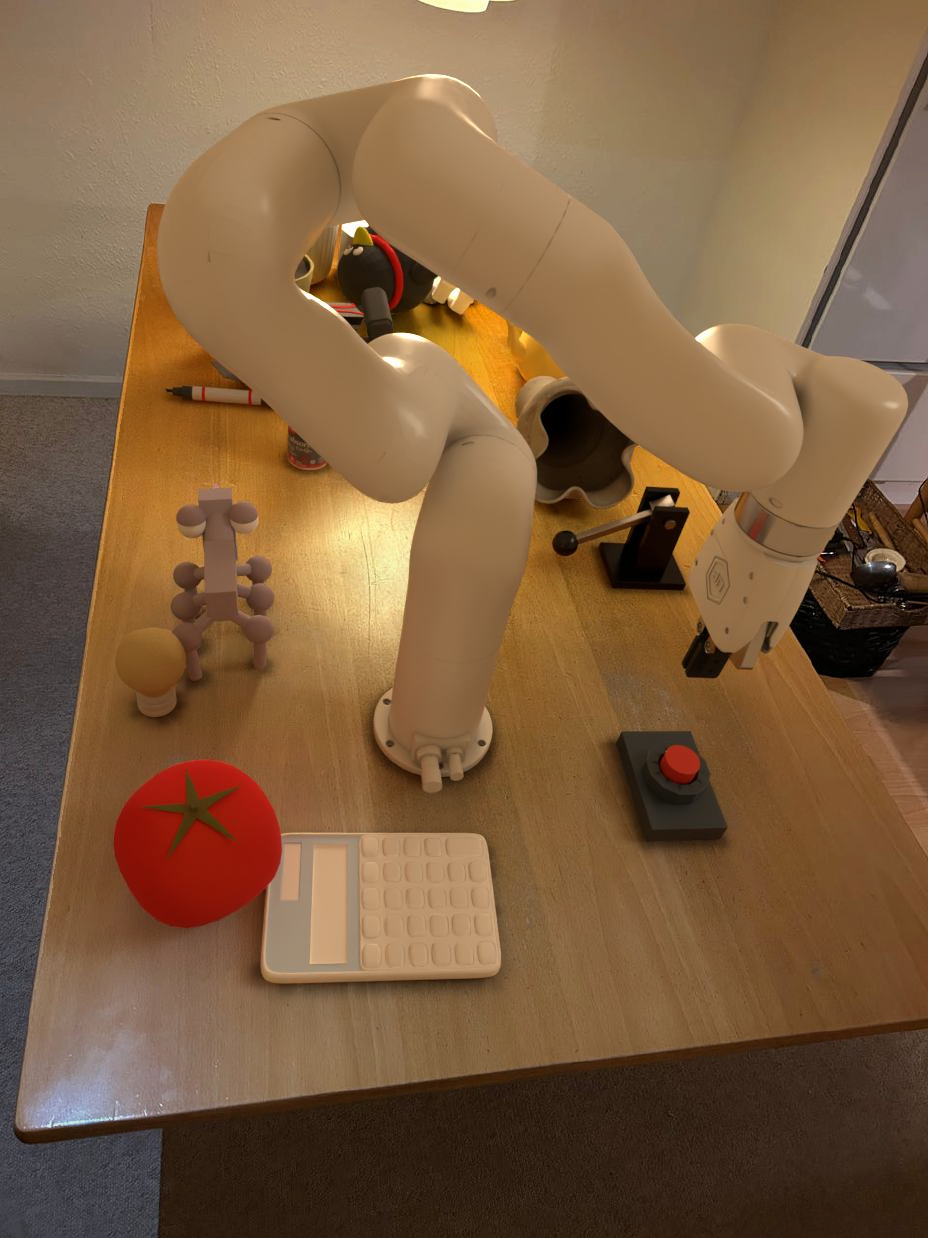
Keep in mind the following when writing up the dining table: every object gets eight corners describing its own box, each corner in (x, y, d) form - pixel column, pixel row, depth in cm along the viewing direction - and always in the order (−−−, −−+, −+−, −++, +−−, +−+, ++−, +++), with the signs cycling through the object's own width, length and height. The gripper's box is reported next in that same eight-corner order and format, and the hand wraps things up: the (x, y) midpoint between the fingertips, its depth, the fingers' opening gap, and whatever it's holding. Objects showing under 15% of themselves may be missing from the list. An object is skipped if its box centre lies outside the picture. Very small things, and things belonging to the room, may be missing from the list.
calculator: (500, 980, 72) (505, 970, 71) (259, 986, 69) (258, 976, 68) (483, 840, 82) (487, 829, 80) (270, 840, 78) (270, 829, 77)
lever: (558, 565, 111) (551, 546, 108) (553, 548, 113) (546, 529, 111) (680, 524, 108) (676, 505, 106) (672, 508, 111) (668, 488, 108)
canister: (361, 278, 166) (369, 161, 152) (300, 304, 154) (303, 181, 140) (288, 246, 171) (290, 130, 157) (224, 270, 159) (219, 147, 145)
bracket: (612, 588, 111) (638, 517, 103) (597, 548, 117) (622, 477, 109) (683, 590, 113) (715, 520, 105) (666, 551, 119) (695, 482, 111)
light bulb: (124, 734, 84) (111, 666, 77) (124, 685, 88) (111, 617, 81) (192, 727, 86) (185, 660, 79) (189, 679, 90) (182, 612, 83)
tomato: (218, 785, 82) (212, 707, 74) (309, 884, 76) (314, 812, 68) (92, 865, 74) (70, 788, 66) (182, 982, 68) (170, 914, 60)
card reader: (371, 368, 140) (357, 287, 128) (395, 364, 140) (384, 283, 128) (378, 405, 135) (364, 325, 123) (403, 401, 135) (392, 320, 123)
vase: (474, 326, 130) (516, 377, 107) (610, 313, 133) (681, 360, 109) (480, 461, 142) (519, 534, 118) (605, 446, 144) (668, 515, 121)
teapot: (607, 405, 145) (629, 335, 137) (494, 401, 140) (509, 328, 132) (584, 364, 155) (602, 296, 146) (477, 359, 150) (490, 288, 141)
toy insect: (177, 559, 103) (167, 464, 93) (267, 557, 105) (267, 465, 96) (173, 685, 89) (162, 589, 80) (278, 679, 92) (278, 586, 83)
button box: (720, 839, 86) (734, 817, 83) (645, 841, 85) (658, 819, 82) (684, 743, 94) (696, 720, 92) (615, 743, 93) (626, 720, 90)
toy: (459, 209, 149) (380, 233, 136) (468, 304, 157) (395, 334, 145) (376, 208, 160) (296, 230, 147) (388, 297, 169) (314, 324, 156)
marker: (271, 401, 130) (271, 389, 129) (271, 408, 129) (270, 396, 127) (166, 393, 127) (165, 381, 126) (164, 400, 126) (163, 387, 124)
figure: (468, 334, 163) (464, 269, 179) (490, 302, 158) (484, 237, 174) (408, 301, 158) (410, 237, 174) (430, 267, 153) (429, 204, 169)
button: (698, 784, 86) (705, 774, 85) (665, 784, 85) (671, 774, 84) (688, 754, 89) (693, 744, 87) (655, 755, 88) (661, 744, 87)
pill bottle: (279, 461, 120) (279, 398, 113) (302, 444, 124) (304, 382, 117) (313, 477, 118) (315, 414, 112) (336, 459, 122) (339, 397, 116)
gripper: (710, 457, 71) (640, 612, 84) (776, 578, 61) (684, 735, 73) (791, 464, 73) (710, 616, 85) (869, 584, 62) (763, 737, 75)
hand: (698, 671), depth 79 cm, fingers closed
